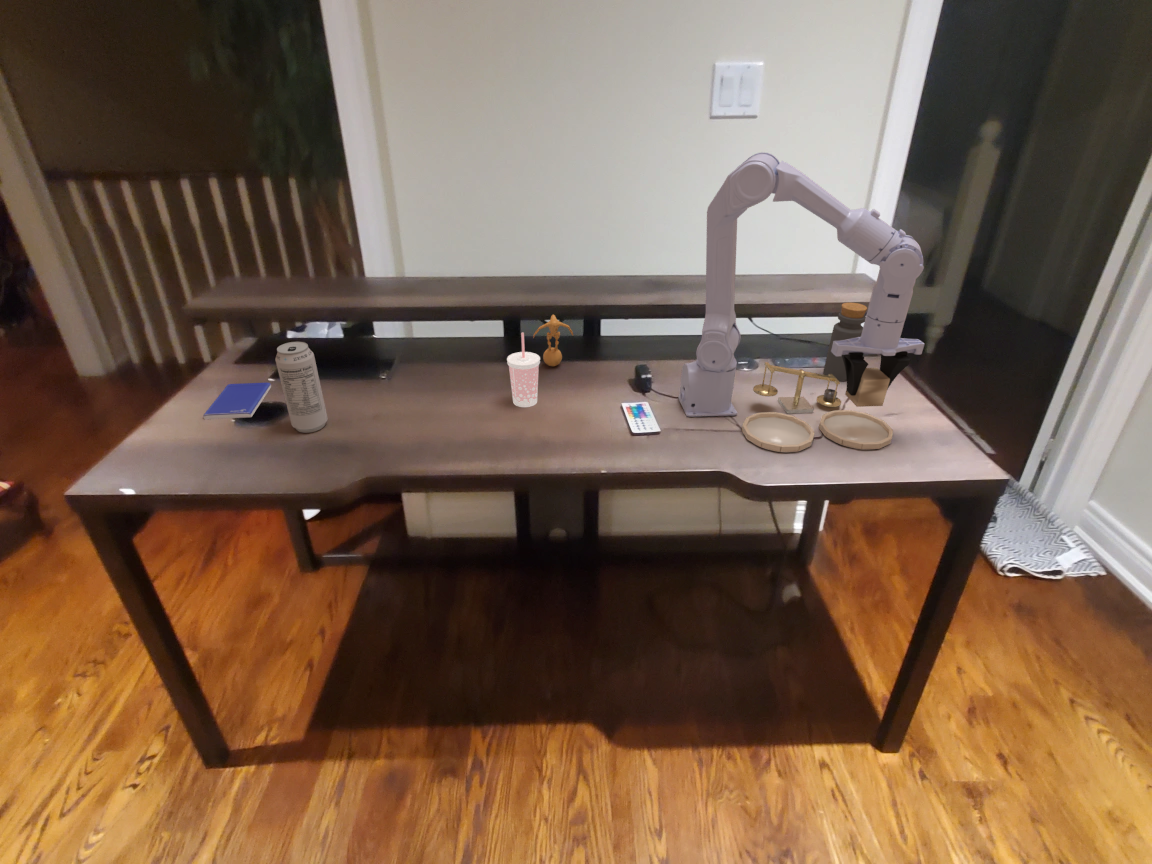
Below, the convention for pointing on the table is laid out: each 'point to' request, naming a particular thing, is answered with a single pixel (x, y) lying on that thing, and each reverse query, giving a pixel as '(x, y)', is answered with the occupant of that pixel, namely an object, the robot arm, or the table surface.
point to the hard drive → (238, 401)
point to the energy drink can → (301, 386)
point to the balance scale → (799, 391)
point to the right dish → (856, 429)
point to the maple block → (871, 388)
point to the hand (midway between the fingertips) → (865, 392)
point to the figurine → (553, 354)
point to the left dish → (778, 432)
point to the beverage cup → (524, 376)
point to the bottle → (844, 336)
